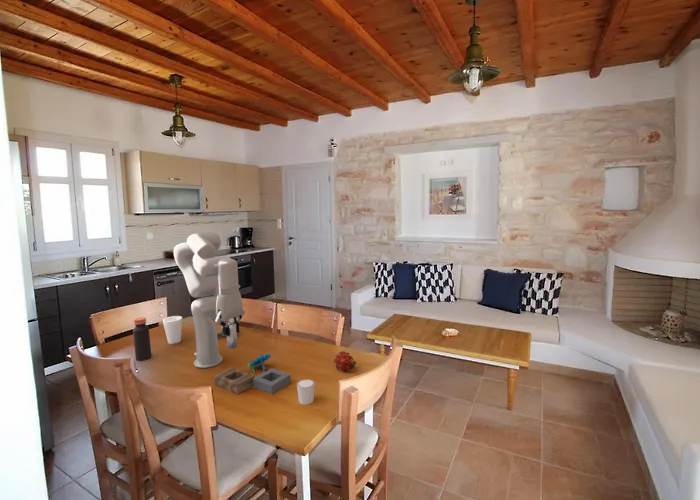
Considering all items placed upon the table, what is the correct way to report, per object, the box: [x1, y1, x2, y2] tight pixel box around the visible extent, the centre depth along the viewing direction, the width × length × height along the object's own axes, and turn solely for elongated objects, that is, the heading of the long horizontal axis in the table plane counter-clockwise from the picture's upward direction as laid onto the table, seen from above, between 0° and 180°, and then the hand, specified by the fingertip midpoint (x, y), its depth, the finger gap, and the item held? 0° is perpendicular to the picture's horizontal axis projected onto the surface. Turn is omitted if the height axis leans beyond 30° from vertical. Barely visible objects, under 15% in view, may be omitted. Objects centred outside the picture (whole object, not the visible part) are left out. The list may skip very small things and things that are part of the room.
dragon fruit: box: [333, 350, 357, 373], centre depth 163 cm, size 8×8×12 cm
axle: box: [226, 322, 238, 350], centre depth 148 cm, size 4×4×10 cm
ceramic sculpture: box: [217, 318, 234, 338], centre depth 207 cm, size 11×9×15 cm
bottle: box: [132, 316, 152, 362], centre depth 177 cm, size 7×7×20 cm
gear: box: [247, 353, 272, 374], centre depth 164 cm, size 11×6×10 cm
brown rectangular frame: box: [214, 367, 255, 395], centre depth 151 cm, size 14×9×4 cm, turn 56°
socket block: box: [252, 368, 292, 395], centre depth 151 cm, size 11×11×4 cm
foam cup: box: [162, 315, 183, 345], centre depth 198 cm, size 10×9×13 cm
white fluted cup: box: [296, 378, 316, 406], centre depth 138 cm, size 7×7×7 cm
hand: (231, 333), depth 148 cm, fingers closed on axle, 4 cm apart
